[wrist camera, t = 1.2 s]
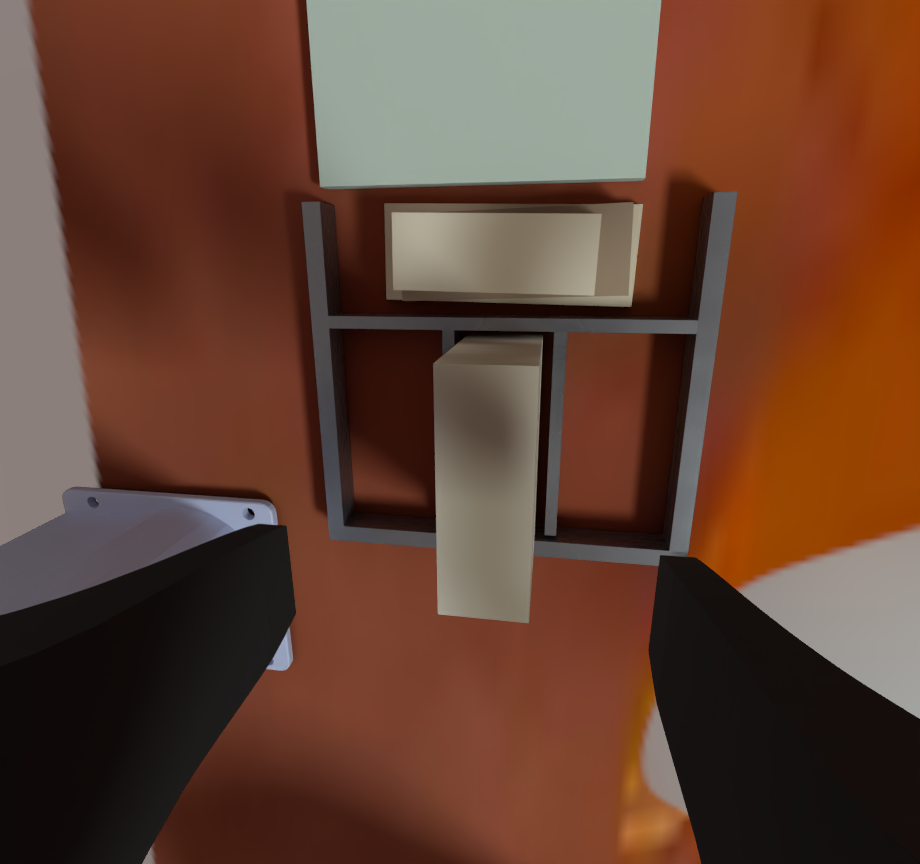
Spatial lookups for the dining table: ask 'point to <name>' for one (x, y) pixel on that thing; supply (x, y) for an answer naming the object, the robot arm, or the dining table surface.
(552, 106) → the sage mat
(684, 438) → the metal rack
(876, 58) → the dining table surface
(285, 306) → the dining table surface
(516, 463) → the tall beige block
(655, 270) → the dining table surface
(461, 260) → the offcut stack
